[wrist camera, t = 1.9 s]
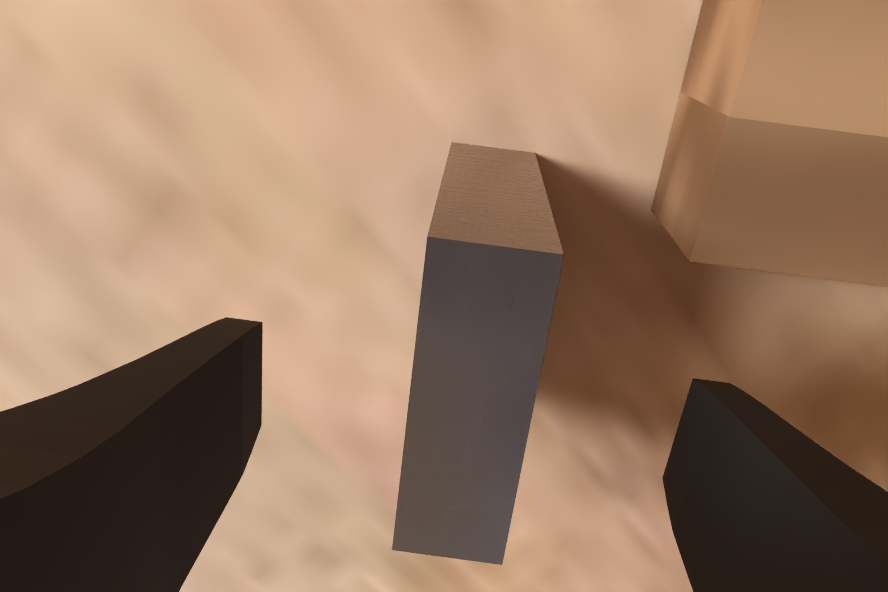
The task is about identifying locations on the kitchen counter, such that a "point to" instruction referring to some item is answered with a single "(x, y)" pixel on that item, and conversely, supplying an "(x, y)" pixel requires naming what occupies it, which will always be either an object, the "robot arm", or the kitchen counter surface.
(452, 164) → the grey rectangular block
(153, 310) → the kitchen counter surface
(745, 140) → the slotted wooden block
